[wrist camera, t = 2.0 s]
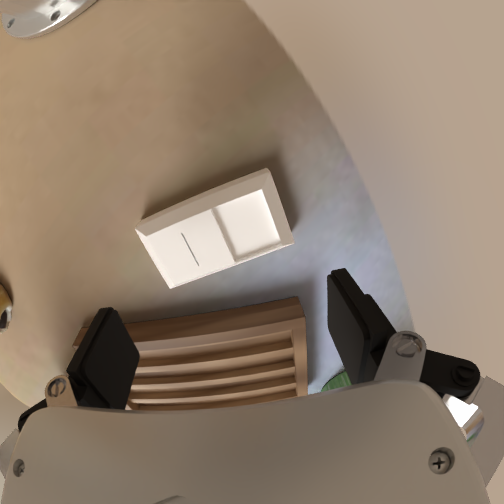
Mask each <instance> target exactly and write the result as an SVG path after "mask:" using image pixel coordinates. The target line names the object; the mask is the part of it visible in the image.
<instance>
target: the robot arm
mask: <svg viewBox="0 0 504 504" xmlns="http://www.w3.org/2000/svg"><path fill="white" fill-rule="evenodd" d="M96 1H97V0H0V13H2V23H3V28H4V29H5V31H6V32H7V33H8V34H9V35H11V36H13V37H17V38H24V39H30V38H35V37H39V36H42V35H44V34H47V33H49V32H52V31H54V30H55V29H57V28H59V27H61V26H63V25H64V24H66V23H67V22H69V21H70V20H72V19H73V18H75V17H76V16H78V15H79V14H81V13H82V12H83V11H84V10H86V9H87V8H88V7H90V6H91V5H92V4H93V3H94V2H96ZM327 291H328V329H329V332H330V334H331V337H332V339H333V341H334V344H335V346H336V348H337V351H338V353H339V355H340V358H341V360H342V362H343V365H344V367H345V370H346V372H347V374H348V377H349V379H350V382H351V384H352V385H350V386H345V387H341V388H336V389H332V390H328V391H323V392H319V393H314V394H310V395H305V396H299V397H294V398H289V399H283V400H278V401H272V402H265V403H258V404H251V405H243V406H234V407H224V408H213V409H198V410H172V411H145V410H125V408H126V405H127V401H128V397H129V394H130V390H131V386H132V383H133V379H134V376H135V372H136V369H137V366H138V362H139V359H140V354H139V351H138V349H137V348H136V346H135V344H134V342H133V340H132V339H131V337H130V335H129V333H128V331H127V329H126V328H125V326H124V324H123V322H122V320H121V318H120V316H119V314H118V312H117V311H116V310H114V309H113V308H112V307H108V308H101V309H100V310H99V311H98V313H97V314H96V316H95V318H94V320H93V321H92V323H91V325H90V327H89V328H88V330H87V332H86V334H85V336H84V337H83V339H82V341H81V343H80V345H79V347H78V349H77V350H76V352H75V354H74V356H73V358H72V360H71V362H70V364H69V366H68V368H67V370H66V371H67V373H68V374H69V377H68V378H67V377H66V376H63V375H59V376H56V377H54V378H53V379H51V380H50V381H49V382H48V384H47V386H46V388H45V397H46V398H45V399H44V400H42V401H41V402H39V403H38V404H36V405H34V406H33V407H31V408H30V409H28V410H27V411H25V412H24V413H23V414H22V415H21V416H20V418H19V421H18V429H19V430H17V429H15V430H14V431H13V432H12V433H11V434H10V435H9V436H8V437H7V439H6V440H5V441H4V442H3V443H2V444H1V445H0V470H1V472H2V474H3V476H4V478H5V484H4V488H3V494H2V500H1V504H490V501H489V497H488V494H487V491H486V486H487V485H488V483H489V481H490V480H491V478H492V476H493V474H494V473H495V471H496V469H497V467H498V466H499V464H500V462H501V460H502V458H503V456H504V386H503V385H501V384H500V383H498V382H496V381H495V380H493V379H491V378H489V377H488V376H486V377H485V378H482V377H481V376H480V372H479V369H478V367H477V366H476V365H475V364H474V363H473V362H471V361H468V360H465V359H461V358H457V357H454V356H450V355H445V354H442V353H438V352H434V351H431V350H427V349H426V343H425V340H424V339H423V338H422V337H421V336H420V335H418V334H417V333H414V332H411V331H401V332H398V333H397V332H396V330H395V329H394V328H393V326H392V325H391V323H390V322H389V320H388V319H387V317H386V316H385V315H384V313H383V312H382V310H381V309H380V308H379V306H378V305H377V303H376V302H375V301H374V299H373V298H372V297H371V296H370V295H369V294H365V295H364V293H363V292H362V290H361V289H360V288H359V286H358V285H357V284H356V282H355V281H354V279H353V278H352V277H351V275H350V274H349V273H348V271H347V270H346V269H345V268H342V269H337V270H332V271H331V274H330V275H328V276H327ZM456 420H457V421H456ZM459 425H460V426H461V427H462V428H463V429H464V430H465V431H466V434H467V440H466V439H465V436H464V434H463V433H462V431H461V429H460V427H459Z"/></svg>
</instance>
